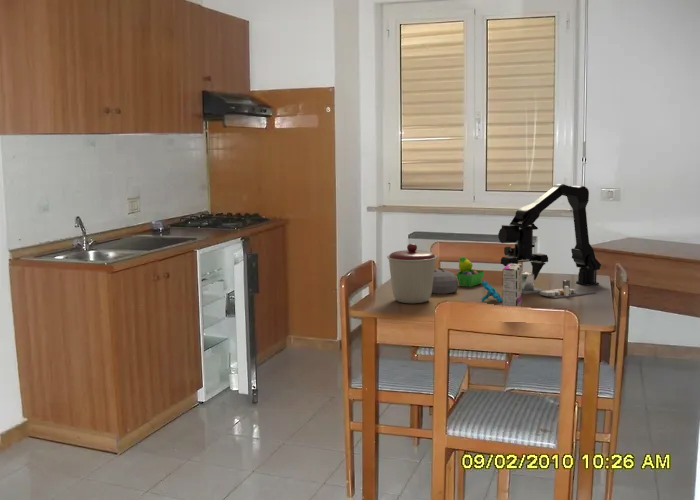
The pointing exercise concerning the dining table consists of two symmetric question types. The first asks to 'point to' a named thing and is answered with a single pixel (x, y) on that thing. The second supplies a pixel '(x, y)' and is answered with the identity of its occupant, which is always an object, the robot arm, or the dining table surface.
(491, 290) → the blue bumpy stand
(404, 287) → the canister
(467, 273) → the fruit basket
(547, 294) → the rack
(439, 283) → the soft grey pack
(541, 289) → the pad
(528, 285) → the chain link
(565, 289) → the rail base
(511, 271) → the candy bar box
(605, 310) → the dining table surface
